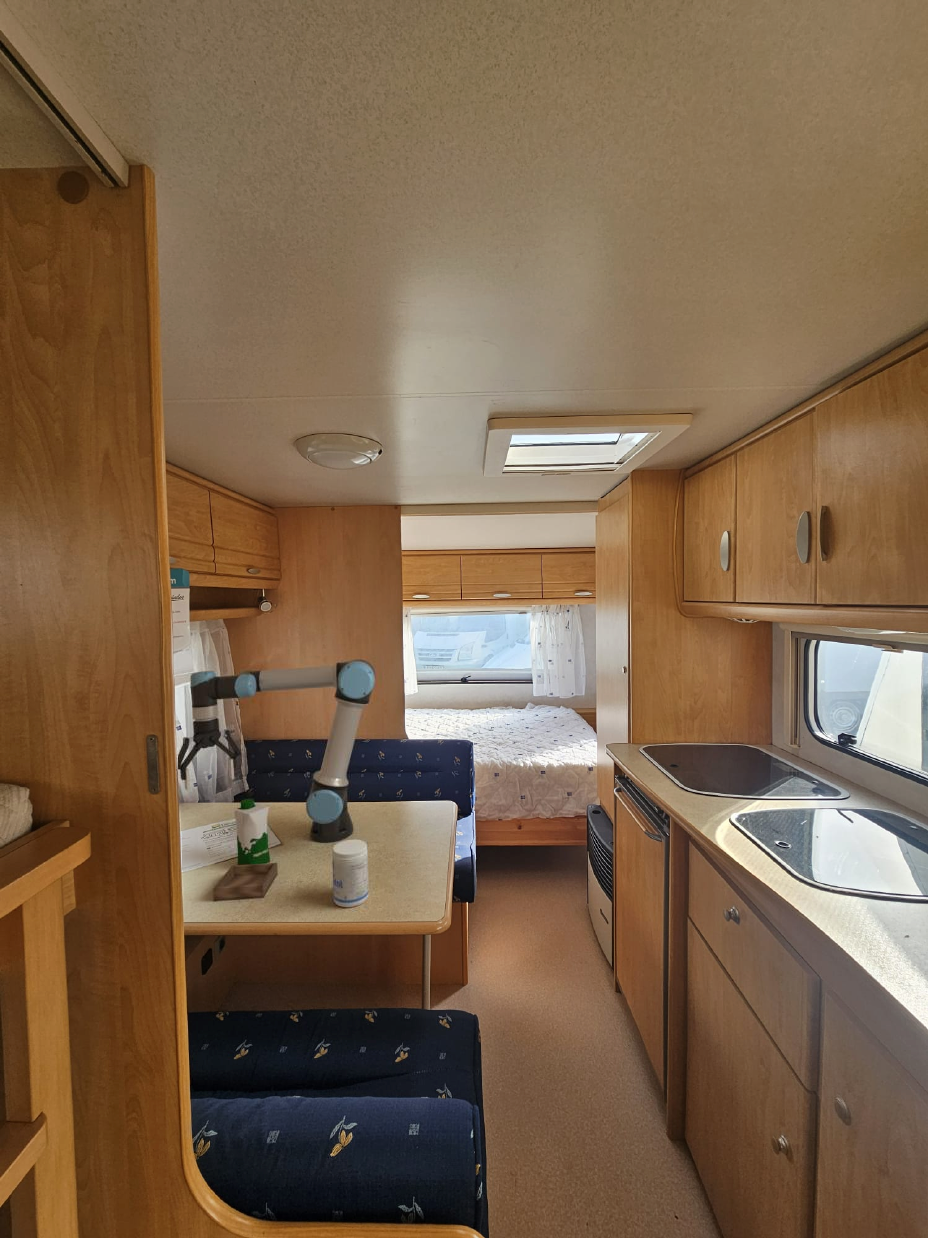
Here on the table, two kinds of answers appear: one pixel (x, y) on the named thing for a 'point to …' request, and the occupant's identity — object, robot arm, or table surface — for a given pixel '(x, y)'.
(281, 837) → the table surface
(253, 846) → the soya milk
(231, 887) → the tray
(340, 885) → the supplement tub
